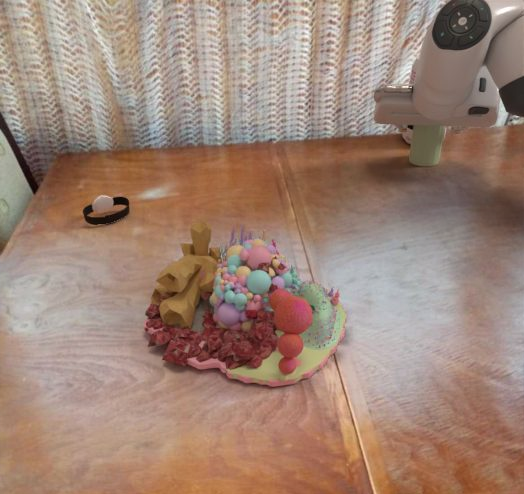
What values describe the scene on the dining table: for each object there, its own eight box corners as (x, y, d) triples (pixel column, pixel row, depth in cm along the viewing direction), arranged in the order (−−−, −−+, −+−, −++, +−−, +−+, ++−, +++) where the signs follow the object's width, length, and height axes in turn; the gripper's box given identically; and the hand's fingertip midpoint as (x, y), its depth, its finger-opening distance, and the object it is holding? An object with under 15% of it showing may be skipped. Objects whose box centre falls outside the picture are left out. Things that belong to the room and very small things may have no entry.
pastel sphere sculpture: (114, 362, 62) (94, 297, 56) (188, 255, 79) (179, 196, 73) (329, 399, 56) (333, 331, 50) (359, 276, 73) (365, 214, 67)
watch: (125, 206, 91) (120, 185, 89) (136, 216, 88) (132, 196, 86) (81, 219, 88) (75, 199, 86) (91, 231, 85) (86, 210, 83)
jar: (438, 155, 102) (448, 100, 96) (439, 167, 98) (450, 110, 92) (408, 154, 103) (416, 99, 97) (408, 165, 99) (417, 109, 93)
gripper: (372, 105, 86) (369, 143, 99) (508, 109, 82) (485, 148, 96) (376, 67, 86) (372, 110, 100) (511, 69, 83) (488, 113, 96)
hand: (429, 129), depth 98 cm, fingers open, 8 cm apart
